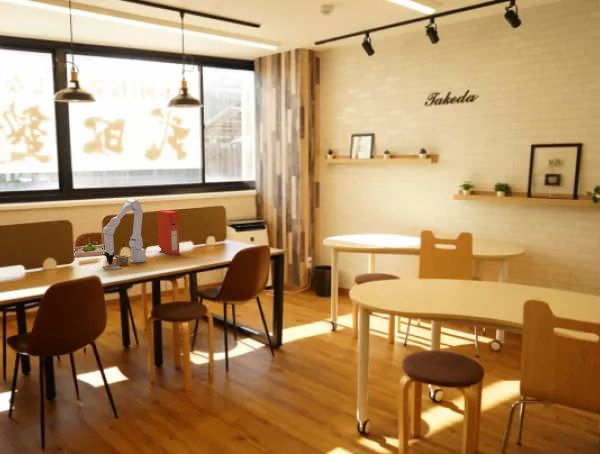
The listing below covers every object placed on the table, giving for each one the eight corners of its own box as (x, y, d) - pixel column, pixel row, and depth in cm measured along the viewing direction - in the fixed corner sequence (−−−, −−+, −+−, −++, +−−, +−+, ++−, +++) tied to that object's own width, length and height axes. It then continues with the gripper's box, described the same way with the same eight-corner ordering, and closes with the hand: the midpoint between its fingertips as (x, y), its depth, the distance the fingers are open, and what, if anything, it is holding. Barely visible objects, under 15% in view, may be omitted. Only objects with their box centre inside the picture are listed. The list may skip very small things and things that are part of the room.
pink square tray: (104, 248, 427) (104, 244, 427) (110, 254, 405) (109, 250, 405) (70, 251, 415) (70, 247, 415) (74, 257, 394) (74, 253, 393)
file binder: (170, 254, 405) (169, 212, 400) (158, 251, 417) (157, 210, 413) (179, 253, 411) (178, 212, 406) (167, 250, 423) (166, 209, 418)
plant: (101, 249, 424) (100, 235, 422) (106, 254, 407) (106, 239, 406) (74, 252, 413) (73, 237, 412) (78, 256, 397) (77, 241, 395)
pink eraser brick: (123, 264, 373) (122, 257, 372) (123, 265, 370) (123, 257, 369) (108, 265, 368) (107, 258, 367) (108, 266, 365) (108, 259, 365)
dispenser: (126, 263, 375) (126, 254, 374) (128, 264, 370) (128, 255, 369) (115, 264, 372) (115, 255, 371) (117, 265, 366) (117, 256, 366)
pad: (118, 265, 366) (118, 265, 366) (121, 268, 358) (121, 267, 358) (102, 267, 362) (102, 266, 362) (105, 270, 353) (105, 269, 353)
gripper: (101, 242, 369) (101, 262, 371) (104, 246, 357) (105, 266, 359) (111, 241, 373) (112, 261, 375) (115, 245, 360) (116, 265, 362)
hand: (109, 263), depth 367 cm, fingers open, 3 cm apart
